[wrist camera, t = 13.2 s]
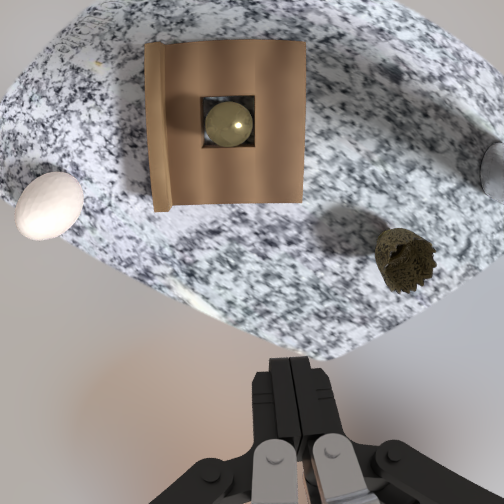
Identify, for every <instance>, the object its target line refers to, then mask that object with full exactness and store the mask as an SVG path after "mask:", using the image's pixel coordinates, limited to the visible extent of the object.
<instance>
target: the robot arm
mask: <svg viewBox="0 0 504 504" xmlns="http://www.w3.org/2000/svg"><path fill="white" fill-rule="evenodd" d="M480 175H481V184H482V187H483V190H484V191H485V193H486V194H487V195H488V196H489V197H491V198H493V199H495V200H496V201H498V202H500V203H502V204H503V205H504V143H495V144H493V145H492V146H490V147H489V149H488V150H487V151H486V153H485V155H484V157H483V160H482V164H481V172H480ZM252 411H253V436H254V443H253V446H252V447H251V449H250V450H249V451H248V452H247V453H246V454H244V455H242V456H240V457H237V458H234V459H231V460H227V461H222V460H220V459H216V458H206V459H202V460H200V461H198V462H196V463H195V464H194V465H193V466H192V467H191V468H190V469H188V470H187V471H186V472H185V473H184V474H183V475H182V476H181V477H179V478H178V479H177V480H176V481H175V482H174V483H173V484H171V485H170V486H169V487H168V488H167V489H166V490H164V491H163V492H162V493H161V494H160V495H159V496H157V497H156V498H155V499H154V500H152V501H151V502H150V503H149V504H243V503H246V502H249V501H251V504H298V485H297V484H298V483H297V462H299V461H302V462H303V469H304V471H303V475H302V479H303V484H304V488H305V492H306V496H307V501H308V504H504V498H502V497H500V496H498V495H496V494H494V493H492V492H490V491H488V490H486V489H484V488H482V487H480V486H478V485H477V484H475V483H473V482H471V481H469V480H467V479H465V478H464V477H462V476H460V475H458V474H456V473H455V472H453V471H451V470H449V469H447V468H446V467H444V466H442V465H440V464H439V463H437V462H435V461H434V460H432V459H430V458H428V457H427V456H425V455H424V454H422V453H420V452H419V451H417V450H415V449H414V448H412V447H410V446H409V445H407V444H406V443H404V442H402V441H399V440H388V441H386V442H384V443H382V444H381V445H380V446H372V445H363V444H358V443H355V442H353V441H351V440H350V439H349V438H348V437H347V436H346V435H345V433H344V432H343V429H342V425H341V421H340V418H339V413H338V409H337V406H336V402H335V399H334V395H333V391H332V387H331V384H330V380H329V377H328V376H327V374H325V372H324V371H323V370H322V369H321V368H315V369H311V366H310V362H309V358H308V356H301V357H289V359H288V358H270V359H269V372H257V373H256V375H255V377H254V379H253V382H252Z"/></svg>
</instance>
